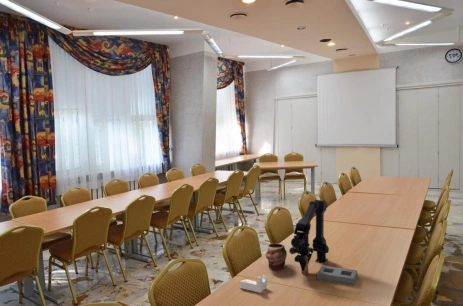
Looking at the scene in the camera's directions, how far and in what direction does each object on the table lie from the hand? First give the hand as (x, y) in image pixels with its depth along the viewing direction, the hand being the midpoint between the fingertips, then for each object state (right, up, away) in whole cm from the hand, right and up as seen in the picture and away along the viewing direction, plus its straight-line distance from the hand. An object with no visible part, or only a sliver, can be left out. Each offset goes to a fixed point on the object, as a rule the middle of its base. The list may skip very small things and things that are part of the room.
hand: (304, 268), depth 209 cm
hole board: (+17, -3, -9) cm, 19 cm away
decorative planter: (-15, -3, +13) cm, 20 cm away
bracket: (-31, -6, -15) cm, 35 cm away
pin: (0, -3, 0) cm, 3 cm away
